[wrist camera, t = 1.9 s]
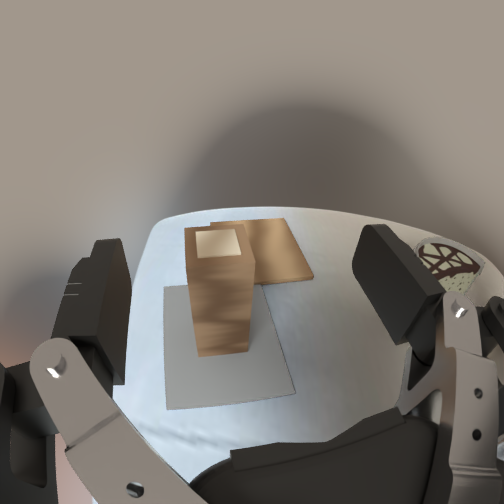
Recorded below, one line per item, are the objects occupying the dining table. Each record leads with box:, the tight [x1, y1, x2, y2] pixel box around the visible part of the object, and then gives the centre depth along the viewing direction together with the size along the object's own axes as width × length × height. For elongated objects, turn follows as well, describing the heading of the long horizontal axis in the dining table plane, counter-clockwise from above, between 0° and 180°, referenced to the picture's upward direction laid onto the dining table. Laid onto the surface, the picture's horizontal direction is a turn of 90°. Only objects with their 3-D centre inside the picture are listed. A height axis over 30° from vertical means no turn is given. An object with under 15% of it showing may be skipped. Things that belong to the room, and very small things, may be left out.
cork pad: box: [210, 218, 314, 285], centre depth 42 cm, size 12×14×1 cm
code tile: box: [163, 284, 295, 410], centre depth 30 cm, size 12×16×1 cm
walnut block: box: [185, 224, 256, 357], centre depth 27 cm, size 5×5×12 cm
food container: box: [413, 237, 485, 295], centre depth 31 cm, size 12×6×10 cm, turn 101°
